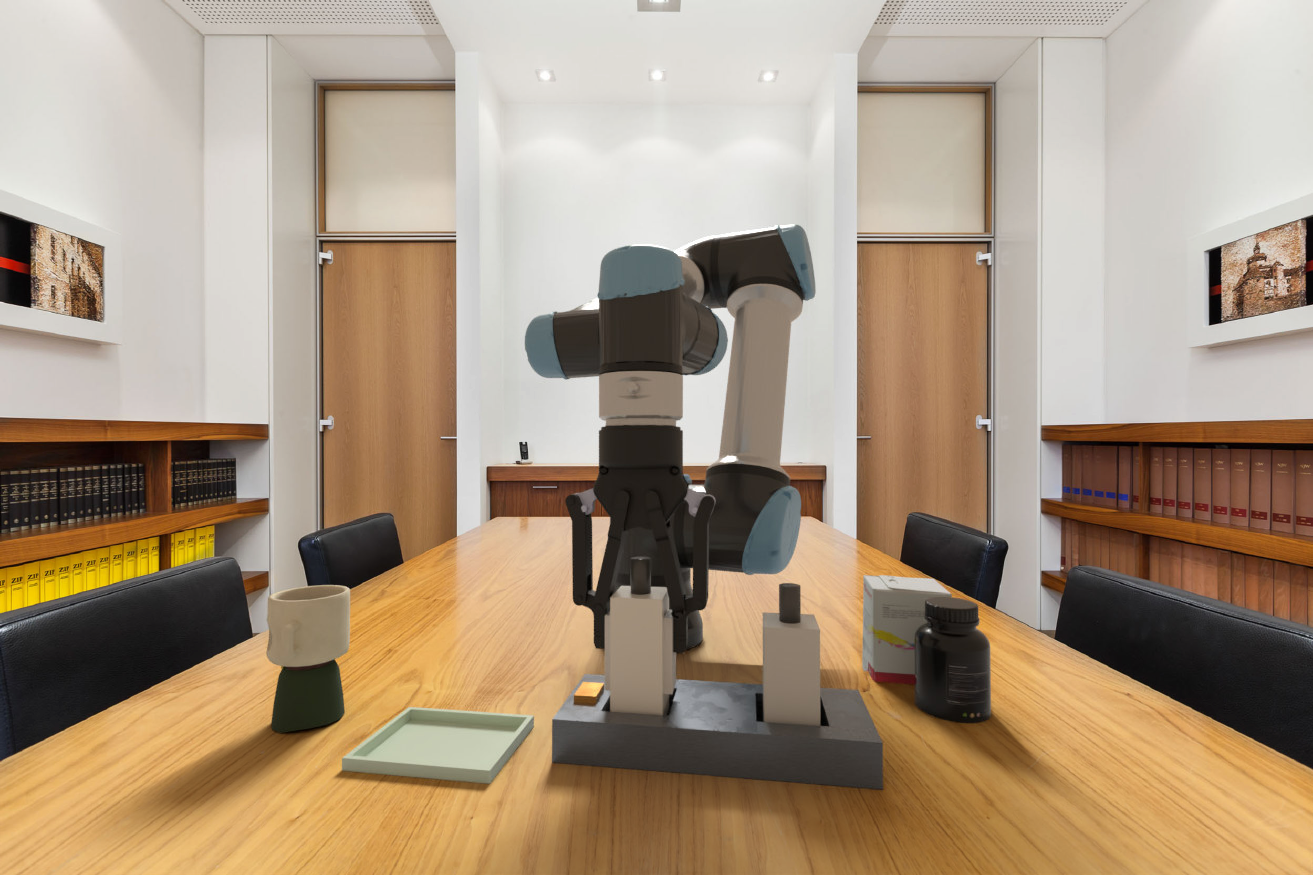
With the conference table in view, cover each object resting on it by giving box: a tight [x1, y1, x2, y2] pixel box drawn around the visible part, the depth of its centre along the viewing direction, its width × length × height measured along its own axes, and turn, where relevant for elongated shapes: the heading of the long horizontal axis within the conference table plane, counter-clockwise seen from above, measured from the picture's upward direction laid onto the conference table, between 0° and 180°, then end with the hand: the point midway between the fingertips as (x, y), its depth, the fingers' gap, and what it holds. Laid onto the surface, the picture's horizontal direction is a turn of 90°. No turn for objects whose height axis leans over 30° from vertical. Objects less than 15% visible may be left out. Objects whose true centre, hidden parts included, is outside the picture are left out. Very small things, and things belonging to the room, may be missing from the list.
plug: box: [610, 557, 669, 715], centre depth 53 cm, size 4×4×14 cm
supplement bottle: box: [914, 596, 992, 724], centre depth 60 cm, size 7×7×12 cm
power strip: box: [551, 673, 884, 791], centre depth 52 cm, size 10×26×6 cm, turn 81°
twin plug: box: [762, 582, 821, 726], centre depth 51 cm, size 4×4×14 cm
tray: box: [341, 706, 535, 785], centre depth 54 cm, size 10×13×2 cm
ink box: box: [861, 574, 953, 685], centre depth 70 cm, size 9×9×12 cm
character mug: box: [265, 584, 351, 734], centre depth 59 cm, size 11×7×13 cm, turn 9°
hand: (640, 685), depth 53 cm, fingers closed on plug, 4 cm apart
